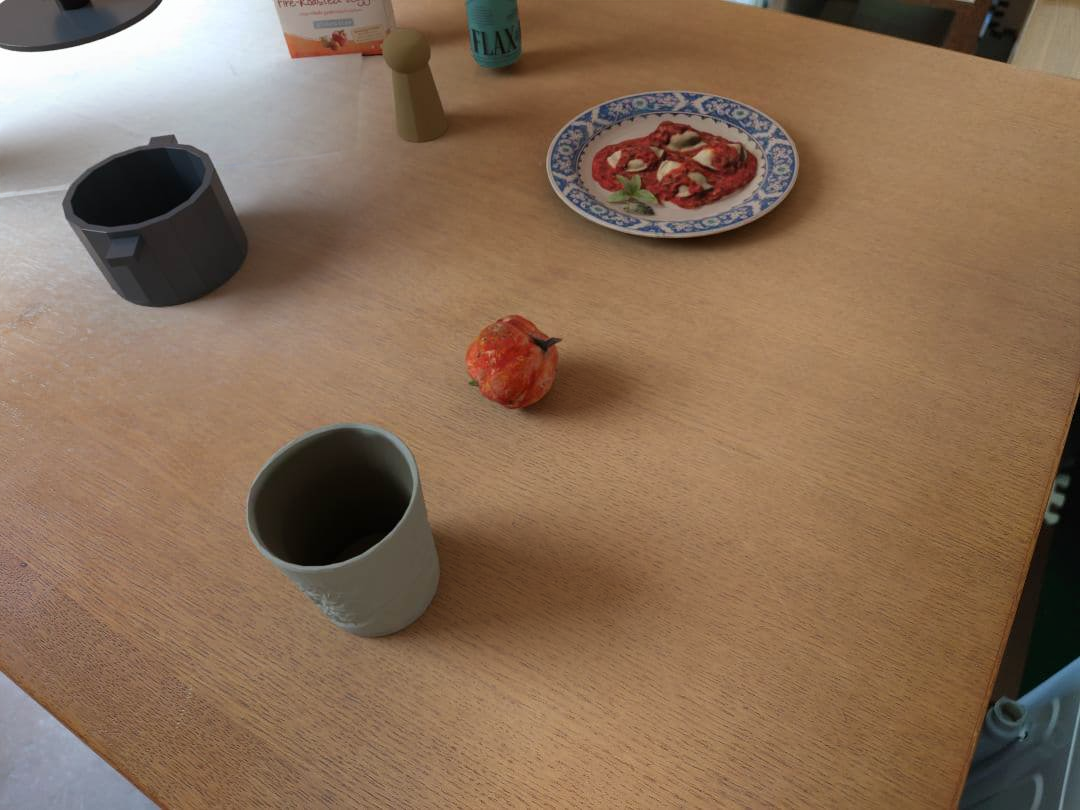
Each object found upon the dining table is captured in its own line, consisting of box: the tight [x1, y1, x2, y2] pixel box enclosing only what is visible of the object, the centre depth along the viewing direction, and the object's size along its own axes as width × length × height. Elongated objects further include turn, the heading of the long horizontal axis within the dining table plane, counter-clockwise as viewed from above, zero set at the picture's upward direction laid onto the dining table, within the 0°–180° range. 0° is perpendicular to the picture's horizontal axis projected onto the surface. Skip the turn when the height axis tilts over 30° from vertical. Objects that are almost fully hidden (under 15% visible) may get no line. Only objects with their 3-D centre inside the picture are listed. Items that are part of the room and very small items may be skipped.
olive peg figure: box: [382, 27, 449, 143], centre depth 87 cm, size 6×6×11 cm
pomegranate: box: [464, 314, 563, 410], centre depth 62 cm, size 7×7×10 cm
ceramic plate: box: [545, 90, 800, 239], centre depth 81 cm, size 26×26×3 cm
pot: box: [61, 133, 249, 308], centre depth 75 cm, size 14×19×9 cm
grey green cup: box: [245, 421, 441, 638], centre depth 50 cm, size 10×10×12 cm
